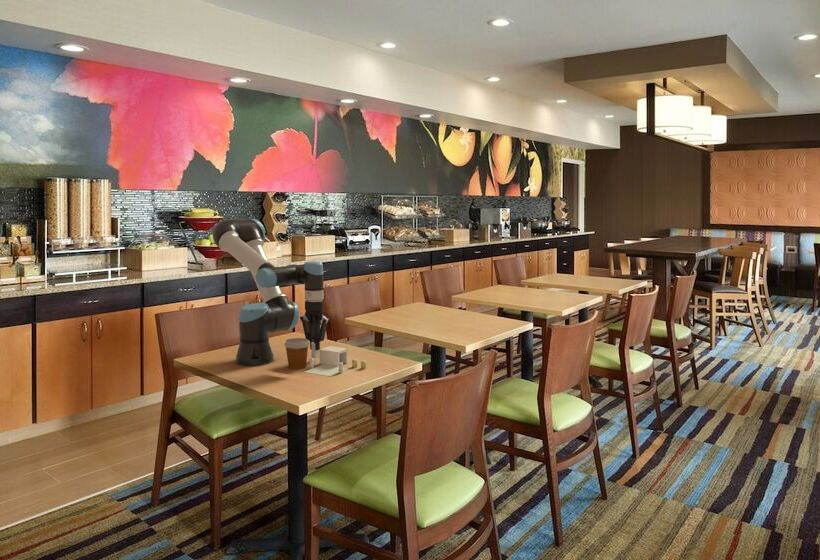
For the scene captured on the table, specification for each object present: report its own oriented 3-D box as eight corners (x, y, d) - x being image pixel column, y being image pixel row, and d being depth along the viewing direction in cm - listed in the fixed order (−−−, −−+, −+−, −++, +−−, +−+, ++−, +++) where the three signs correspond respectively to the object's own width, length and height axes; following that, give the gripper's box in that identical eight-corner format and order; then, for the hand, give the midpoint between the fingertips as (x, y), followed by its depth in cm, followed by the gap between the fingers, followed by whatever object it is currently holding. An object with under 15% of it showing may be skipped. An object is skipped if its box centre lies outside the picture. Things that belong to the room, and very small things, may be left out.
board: (300, 375, 240) (300, 361, 240) (329, 363, 257) (329, 351, 256) (347, 382, 231) (347, 369, 230) (373, 370, 248) (373, 357, 247)
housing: (319, 364, 251) (319, 349, 250) (329, 360, 257) (329, 345, 256) (338, 367, 247) (338, 352, 246) (347, 363, 253) (347, 348, 252)
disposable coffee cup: (304, 374, 241) (304, 344, 239) (281, 373, 243) (280, 342, 241) (313, 368, 250) (312, 338, 249) (290, 366, 252) (290, 337, 251)
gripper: (295, 300, 252) (296, 357, 255) (322, 303, 246) (323, 361, 249) (306, 297, 259) (307, 353, 262) (333, 300, 253) (333, 357, 256)
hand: (315, 357), depth 256 cm, fingers closed
